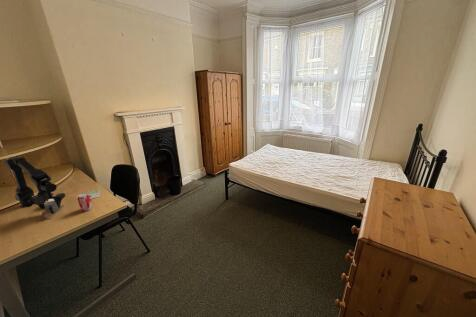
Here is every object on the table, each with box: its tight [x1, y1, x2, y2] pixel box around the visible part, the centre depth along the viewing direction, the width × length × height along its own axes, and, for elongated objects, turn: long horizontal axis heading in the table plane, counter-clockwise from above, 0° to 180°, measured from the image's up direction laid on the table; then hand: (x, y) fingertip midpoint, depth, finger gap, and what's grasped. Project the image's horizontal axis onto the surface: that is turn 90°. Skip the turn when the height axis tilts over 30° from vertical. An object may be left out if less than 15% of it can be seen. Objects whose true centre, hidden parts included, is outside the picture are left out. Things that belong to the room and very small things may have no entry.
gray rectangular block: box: [44, 202, 58, 214], centre depth 137 cm, size 4×4×7 cm
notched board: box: [40, 202, 66, 221], centre depth 138 cm, size 6×16×6 cm, turn 13°
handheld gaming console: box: [84, 188, 101, 200], centre depth 161 cm, size 10×2×15 cm
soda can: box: [77, 192, 94, 212], centre depth 140 cm, size 7×7×12 cm
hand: (51, 208), depth 137 cm, fingers open, 9 cm apart
